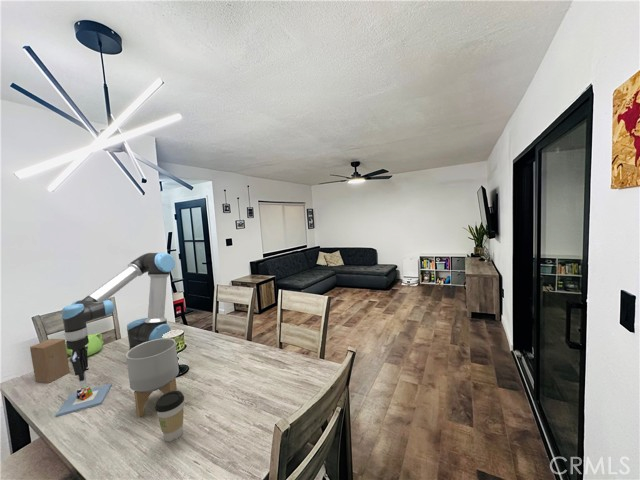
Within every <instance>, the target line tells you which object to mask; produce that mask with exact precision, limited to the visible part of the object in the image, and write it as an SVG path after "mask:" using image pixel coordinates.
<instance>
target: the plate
mask: <svg viewBox="0 0 640 480" xmlns="http://www.w3.org/2000/svg"><path fill="white" fill-rule="evenodd" d="M112 386H113V384H112V382H110V383H107V384H104V385H99V386H95V387H90V388H91V391H92V393H93V394H92V395H91V396H89V397H88V398H86V399H85V400H84V401H83V400H80V399H76V398H77V391H75V392H71V394H69V396H68V397H67V399H66V400H65V402H64V403H63V404H62V405H61V407H60V408H59V409H58V411H57V412H56V414H55V416H54V417H55V418H56V417H58V418H59V417H61V416H65V415H68V414H71V413H76V412H78V411H81V410H86V409H89V408H92V407H96V406H99V405H103V402H104V401H105V398H106V396H107V395H108V393H109V391H110V390H111V387H112Z"/></svg>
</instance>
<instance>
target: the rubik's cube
mask: <svg viewBox="0 0 640 480" xmlns="http://www.w3.org/2000/svg"><path fill="white" fill-rule="evenodd" d="M91 388H92V387H90V386H88V385H87V386H84V387H80V388H79V389H77V390H76V392H77V398H76V399H80V400H83V401H84V400H85V399H86V398H88V397H89V396H91V395H92V394H93V393H92V391H91Z"/></svg>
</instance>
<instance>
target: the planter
mask: <svg viewBox="0 0 640 480" xmlns="http://www.w3.org/2000/svg"><path fill="white" fill-rule="evenodd" d="M125 360H126V367H127V373H128V380H129V381H128V382H129V387H130V390H132V391H133V395H134V397H133V398H134V403H135V411H136V416H137V417H138V418H141V417H142V416H144V415H145V413H144V411H145V405H146V403H147V401H148V399H149V397H150V396H151V394H152V393H153V392H155V391H160V392H162V393H163V395H164V394H166V393H168V392H171V391H177V381H176V377H177V376H178V375H179V372H180V369H179V368H180V367H179V360H178V349H177V344H176V340H175V338H171V337H168V338H161V339H155V340H151V341H148V342H145V343H142V344H140V345H137V346H135V347H134V348H132V349H131V350H129V349H128V351H127V352H126V354H125Z"/></svg>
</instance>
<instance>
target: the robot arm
mask: <svg viewBox="0 0 640 480" xmlns="http://www.w3.org/2000/svg"><path fill="white" fill-rule="evenodd" d="M175 266H176V260H175V259H174V257H173V256H172V255H171V254H170V253H166V252H148V253H144V254H142V255H140V256H139V257H137V258H135V259H134V260H132V261H131V262H130V263H128V264H127V266H126V268H125V269H123V270H121V271H120V272H119V273H117V274H116V275H115V276H113V277H112V278H110V279H108V281H106V282H105V283H104V284H102V285H101V286H99V287H98V288H97V289H95V290H94V291H92V292H91V293H90V294H88V295H87V296H85V297H84V298H83V299H81V300H76V301H73V302H72V303H71V304H70V305H66V306H65V307H63V308H62V310H61V315H62V317H61V318H62V323H63V329H64V333H63V335H64V336H65V344H67V349H71V350H73V351H72V356H73V357H72V356H71V358H70V359H69V361H70V363H71V365H72V369H73V373H74V375H75V376H77V377H78V385H79V388H84V387H86V386H88V385H89V379H88V372H87V371H89V370H90V368H89V360H88V359H89V358H88V357H89V356H88V355H87V350H88V346H86V347H85V345H87V344H88V343H89V340H88V336H87V334H88V326H87V323H88V322H91V321H94V320H98V319H101V318H103V317H107V316H109V315H111V314H113V313H114V312H115V304H114V302H113V301H112V300H109V299H110V298H111V297H112V296H113V295H115V294H116V293H117V292H119V291H121V289H122V288H124V287H126V285H128V284H129V283H130V282H131V281H133V280H134V279H136V278H137V277H141V276H143V274H146V273H147V276H148V277H149V278H150V280H149V293H148V294H149V295H148V296H149V297H148V308H147V310H148V311H147V317H143V318H139V319H135V320H133V321H131V322H129V323H127V325H126V331H127V337H128V338H127V340H128V345H129V346H128V347H129V348H128V351H129V350H131V349H132V348H134V347H135V346H137V345H140V344H142V343H145V342H148V341H151V340H155V339H161V338H162V336H163V334H165V333H167V332H169V331H172V330H171V327H170V325H169V324H168V319H167V318H166V317H165V315H166V314H165V311H166V297H167V281H168V277H169V276H170V275H171V272H172V271H173V269H175ZM88 335H89V334H88Z"/></svg>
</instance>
